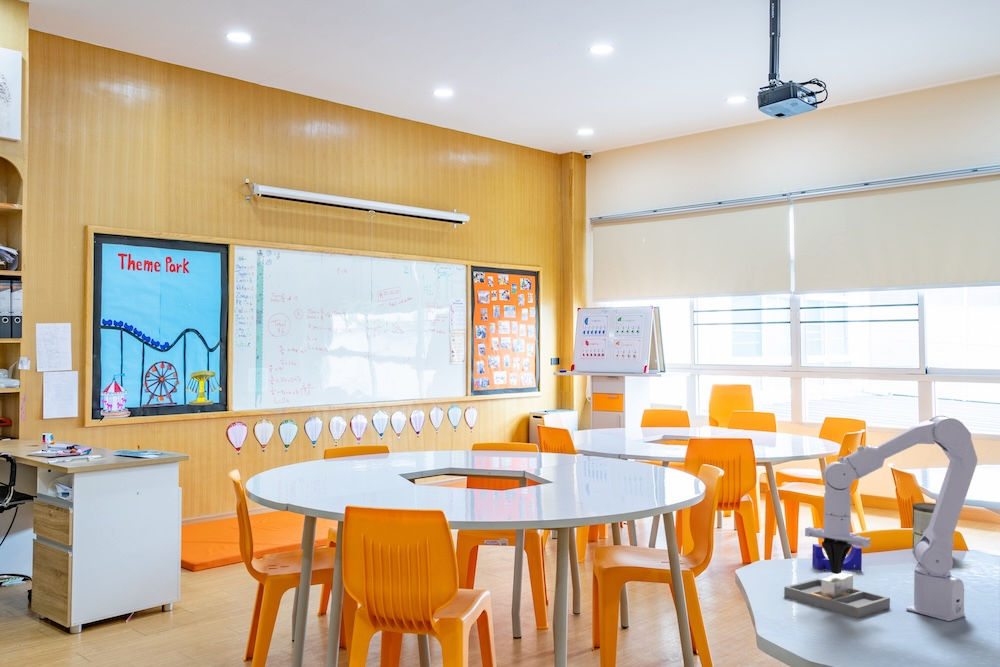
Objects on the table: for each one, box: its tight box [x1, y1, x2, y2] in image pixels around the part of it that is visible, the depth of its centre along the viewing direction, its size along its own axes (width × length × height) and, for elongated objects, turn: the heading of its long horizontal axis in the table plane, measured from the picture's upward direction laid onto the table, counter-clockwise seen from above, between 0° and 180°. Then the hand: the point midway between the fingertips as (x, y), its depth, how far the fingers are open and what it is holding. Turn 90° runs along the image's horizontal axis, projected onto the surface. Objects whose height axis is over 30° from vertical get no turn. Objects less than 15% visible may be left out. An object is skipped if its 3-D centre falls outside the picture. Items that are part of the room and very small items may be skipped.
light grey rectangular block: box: [821, 571, 854, 599], centre depth 184 cm, size 3×10×4 cm, turn 133°
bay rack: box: [783, 578, 891, 619], centre depth 183 cm, size 18×14×2 cm
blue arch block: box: [811, 543, 863, 571], centre depth 214 cm, size 12×4×6 cm, turn 87°
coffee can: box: [911, 502, 936, 553], centre depth 233 cm, size 10×10×14 cm
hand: (836, 572), depth 184 cm, fingers closed
